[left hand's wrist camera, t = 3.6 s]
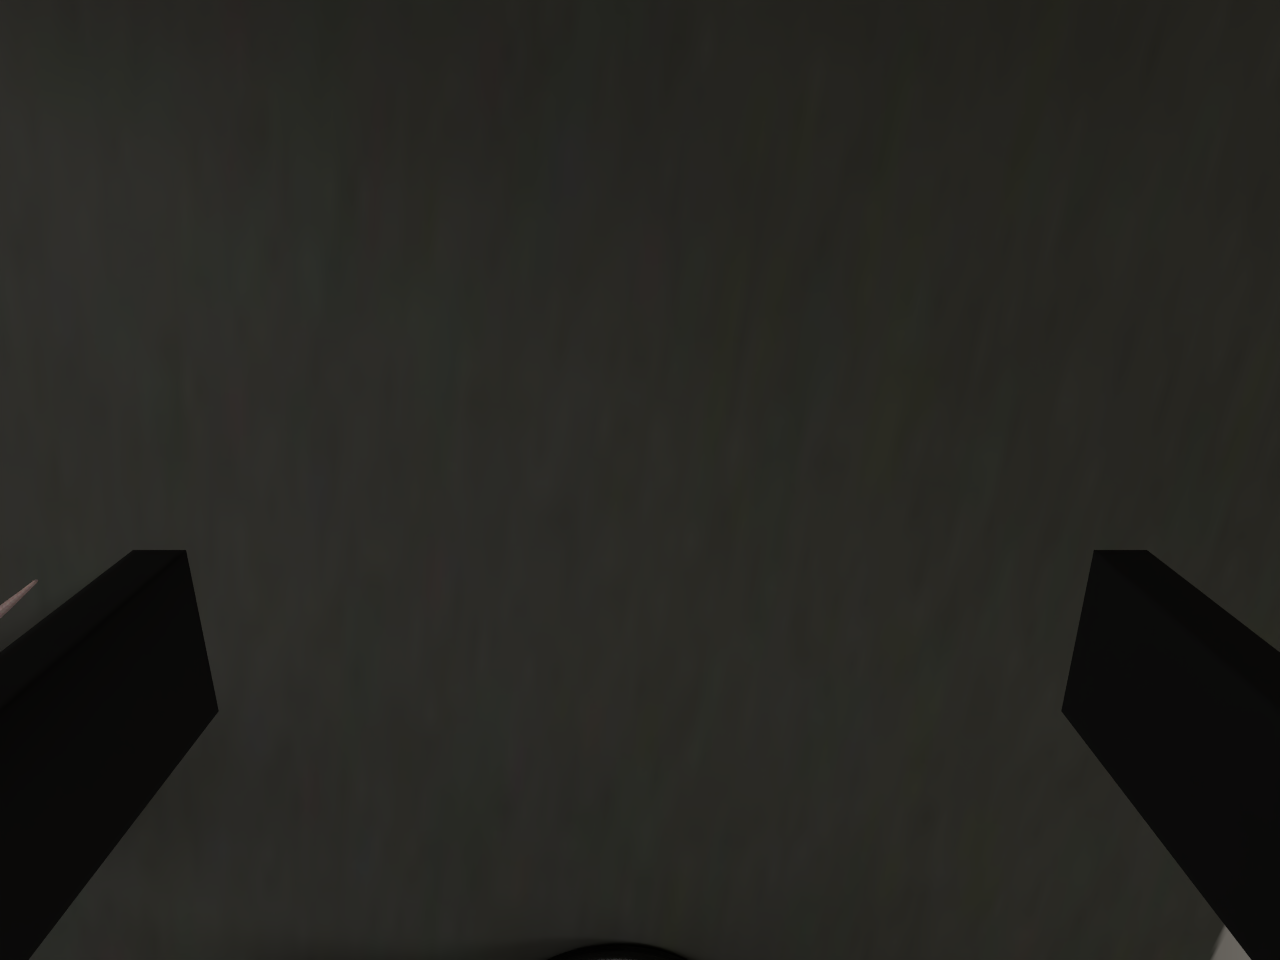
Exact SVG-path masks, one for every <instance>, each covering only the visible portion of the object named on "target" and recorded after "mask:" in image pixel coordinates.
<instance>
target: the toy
mask: <svg viewBox="0 0 1280 960" xmlns="http://www.w3.org/2000/svg"><path fill="white" fill-rule="evenodd" d="M37 582H38V580H34V581H33V582H31V583H30V584H29V585H27V586H26V587H25V588H23V589H22V590H21V591H19V592H18V593H17V594H15V595H14V596H13V597H11V598H10V599H8V600H7V601H6V602H4V603H3V604H2V605H0V618H1V617H2V616H3V615H4V614H5V613H7V612H8V611H9V610H10V609H11V608H12V607H13V606H14V605H15V604H16V603H17V602H18V601H19V600H20V599H21V598H22V597H23V596H24V595H25V594H26V593H27V592H28V591H29V590H30V589H31V588H32V587H33V586H34V585H35V584H36V583H37Z"/></svg>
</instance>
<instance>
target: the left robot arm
mask: <svg viewBox="0 0 1280 960" xmlns="http://www.w3.org/2000/svg"><path fill="white" fill-rule="evenodd" d="M217 712H218V706H217V701H216V696H215V691H214V686H213V681H212V676H211V671H210V666H209V661H208V656H207V651H206V647H205V642H204V637H203V632H202V627H201V622H200V617H199V612H198V607H197V602H196V597H195V592H194V587H193V582H192V577H191V573H190V568H189V563H188V558H187V553H186V550H133V551H131V552H130V553H129V554H127V555H126V556H125V557H123V558H122V559H121V560H120V561H118V562H117V563H116V564H114V565H113V566H112V567H111V568H109V569H108V570H107V571H105V572H104V573H103V574H101V575H100V576H99V577H98V578H96V579H95V580H94V581H92V582H91V583H90V584H88V585H87V586H86V587H85V588H83V589H82V590H81V591H79V592H78V593H77V594H75V595H74V596H73V597H72V598H70V599H69V600H68V601H66V602H65V603H64V604H62V605H61V606H60V607H59V608H57V609H56V610H55V611H53V612H52V613H51V614H49V615H48V616H47V617H46V618H44V619H43V620H42V621H40V622H39V623H38V624H37V625H35V626H34V627H33V628H31V629H30V630H29V631H27V632H26V633H25V634H24V635H22V636H21V637H20V638H18V639H17V640H16V641H14V642H13V643H12V644H11V645H9V646H8V647H7V648H5V649H4V650H3V651H1V652H0V960H29V958H30V957H31V956H32V955H33V953H34V952H35V951H36V949H37V948H38V947H39V945H40V944H41V943H42V941H43V940H44V939H45V938H46V936H47V935H48V934H49V932H50V931H51V930H52V928H53V927H54V926H55V924H56V923H57V922H58V921H59V919H60V918H61V917H62V915H63V914H64V913H65V911H66V910H67V909H68V907H69V906H70V905H71V903H72V902H73V901H74V900H75V898H76V897H77V896H78V894H79V893H80V892H81V890H82V889H83V888H84V886H85V885H86V884H87V883H88V881H89V880H90V879H91V877H92V876H93V875H94V873H95V872H96V871H97V869H98V868H99V867H100V866H101V864H102V863H103V862H104V860H105V859H106V858H107V856H108V855H109V854H110V852H111V851H112V850H113V849H114V847H115V846H116V845H117V843H118V842H119V841H120V839H121V838H122V837H123V835H124V834H125V833H126V832H127V830H128V829H129V828H130V826H131V825H132V824H133V822H134V821H135V820H136V818H137V817H138V816H139V815H140V813H141V812H142V811H143V809H144V808H145V807H146V805H147V804H148V803H149V801H150V800H151V799H152V798H153V796H154V795H155V794H156V792H157V791H158V790H159V788H160V787H161V786H162V784H163V783H164V782H165V781H166V779H167V778H168V777H169V775H170V774H171V773H172V771H173V770H174V769H175V767H176V766H177V765H178V764H179V762H180V761H181V760H182V758H183V757H184V756H185V754H186V753H187V752H188V750H189V749H190V748H191V746H192V745H193V744H194V743H195V741H196V740H197V739H198V737H199V736H200V735H201V733H202V732H203V731H204V729H205V728H206V727H207V726H208V724H209V723H210V722H211V720H212V719H213V718H214V716H215V715H216V714H217ZM1062 712H1063V714H1064V715H1065V716H1066V718H1067V719H1068V720H1069V722H1070V723H1071V724H1072V726H1073V727H1074V728H1075V729H1076V731H1077V732H1078V733H1079V735H1080V736H1081V737H1082V739H1083V740H1084V741H1085V743H1086V744H1087V745H1088V746H1089V748H1090V749H1091V750H1092V752H1093V753H1094V754H1095V756H1096V757H1097V758H1098V760H1099V761H1100V762H1101V764H1102V765H1103V766H1104V767H1105V769H1106V770H1107V771H1108V773H1109V774H1110V775H1111V777H1112V778H1113V779H1114V781H1115V782H1116V783H1117V784H1118V786H1119V787H1120V788H1121V790H1122V791H1123V792H1124V794H1125V795H1126V796H1127V798H1128V799H1129V800H1130V801H1131V803H1132V804H1133V805H1134V807H1135V808H1136V809H1137V811H1138V812H1139V813H1140V815H1141V816H1142V817H1143V818H1144V820H1145V821H1146V822H1147V824H1148V825H1149V826H1150V828H1151V829H1152V830H1153V832H1154V833H1155V834H1156V835H1157V837H1158V838H1159V839H1160V841H1161V842H1162V843H1163V845H1164V846H1165V847H1166V849H1167V850H1168V851H1169V852H1170V854H1171V855H1172V856H1173V858H1174V859H1175V860H1176V862H1177V863H1178V864H1179V866H1180V867H1181V868H1182V869H1183V871H1184V872H1185V873H1186V875H1187V876H1188V877H1189V879H1190V880H1191V881H1192V883H1193V884H1194V885H1195V886H1196V888H1197V889H1198V890H1199V892H1200V893H1201V894H1202V896H1203V897H1204V898H1205V900H1206V901H1207V902H1208V903H1209V905H1210V906H1211V907H1212V909H1213V910H1214V911H1215V913H1216V914H1217V915H1218V917H1219V918H1220V919H1221V921H1222V922H1223V923H1224V924H1225V926H1226V927H1227V928H1228V930H1229V931H1230V932H1231V934H1232V935H1233V936H1234V938H1235V939H1236V940H1237V941H1238V943H1239V944H1240V945H1241V947H1242V948H1243V949H1244V951H1245V952H1246V953H1247V955H1248V956H1249V957H1250V958H1251V960H1280V652H1279V651H1277V650H1276V649H1275V648H1273V647H1272V646H1271V645H1269V644H1268V643H1267V642H1266V641H1264V640H1263V639H1262V638H1260V637H1259V636H1258V635H1256V634H1255V633H1254V632H1253V631H1251V630H1250V629H1249V628H1247V627H1246V626H1245V625H1243V624H1242V623H1241V622H1240V621H1238V620H1237V619H1236V618H1234V617H1233V616H1232V615H1231V614H1229V613H1228V612H1227V611H1225V610H1224V609H1223V608H1221V607H1220V606H1219V605H1218V604H1216V603H1215V602H1214V601H1212V600H1211V599H1210V598H1208V597H1207V596H1206V595H1205V594H1203V593H1202V592H1201V591H1199V590H1198V589H1197V588H1195V587H1194V586H1193V585H1192V584H1190V583H1189V582H1188V581H1186V580H1185V579H1184V578H1182V577H1181V576H1180V575H1179V574H1177V573H1176V572H1175V571H1173V570H1172V569H1171V568H1169V567H1168V566H1167V565H1166V564H1164V563H1163V562H1162V561H1160V560H1159V559H1158V558H1157V557H1155V556H1154V555H1153V554H1151V553H1150V552H1149V551H1147V550H1094V553H1093V558H1092V563H1091V568H1090V573H1089V577H1088V582H1087V587H1086V592H1085V597H1084V602H1083V607H1082V612H1081V617H1080V622H1079V627H1078V632H1077V637H1076V642H1075V647H1074V651H1073V656H1072V661H1071V666H1070V671H1069V676H1068V681H1067V686H1066V691H1065V696H1064V701H1063V706H1062ZM548 960H685V959H683V958H681V957H678V956H675V955H672V954H670V953H666V952H663V951H659V950H655V949H650V948H645V947H637V946H625V945H608V946H596V947H588V948H583V949H577V950H574V951H570V952H566V953H563V954H560V955H558V956H555V957H552V958H550V959H548Z"/></svg>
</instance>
